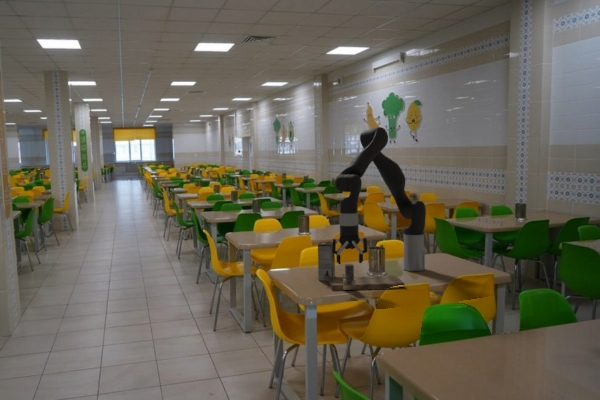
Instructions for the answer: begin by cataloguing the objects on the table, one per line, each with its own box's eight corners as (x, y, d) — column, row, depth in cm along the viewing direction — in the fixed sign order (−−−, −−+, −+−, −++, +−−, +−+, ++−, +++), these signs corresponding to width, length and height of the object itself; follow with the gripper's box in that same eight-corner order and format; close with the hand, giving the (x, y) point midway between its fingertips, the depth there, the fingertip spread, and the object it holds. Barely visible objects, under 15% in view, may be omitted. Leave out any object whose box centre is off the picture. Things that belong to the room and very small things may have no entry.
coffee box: (321, 275, 240) (320, 241, 239) (335, 276, 239) (334, 241, 238) (318, 280, 232) (317, 244, 230) (332, 281, 230) (332, 244, 229)
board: (396, 280, 230) (396, 275, 230) (404, 288, 216) (404, 283, 216) (328, 282, 228) (328, 277, 228) (332, 290, 214) (331, 285, 214)
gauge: (351, 282, 225) (351, 259, 225) (356, 289, 212) (356, 265, 211) (339, 282, 225) (339, 259, 224) (343, 290, 212) (343, 265, 211)
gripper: (364, 222, 215) (365, 260, 217) (330, 223, 215) (331, 262, 216) (368, 224, 208) (368, 264, 209) (332, 225, 207) (333, 266, 209)
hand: (349, 263), depth 213 cm, fingers open, 8 cm apart
